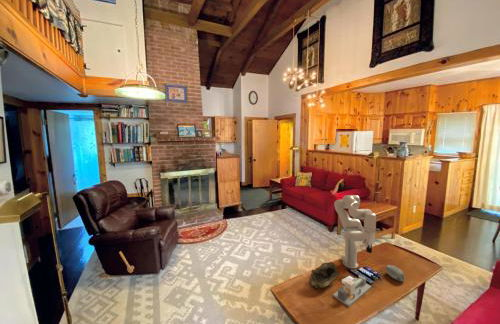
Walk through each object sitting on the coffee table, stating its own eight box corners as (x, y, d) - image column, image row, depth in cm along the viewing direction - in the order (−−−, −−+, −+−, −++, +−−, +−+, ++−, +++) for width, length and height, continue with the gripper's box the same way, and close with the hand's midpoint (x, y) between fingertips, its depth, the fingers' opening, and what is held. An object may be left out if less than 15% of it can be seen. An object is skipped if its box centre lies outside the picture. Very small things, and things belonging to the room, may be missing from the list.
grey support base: (333, 296, 146) (333, 286, 145) (355, 279, 162) (355, 270, 161) (349, 307, 136) (349, 297, 135) (371, 288, 152) (371, 278, 151)
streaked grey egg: (410, 278, 156) (403, 267, 157) (401, 286, 155) (394, 274, 155) (395, 271, 170) (389, 261, 170) (387, 278, 168) (380, 267, 169)
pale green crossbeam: (341, 294, 143) (341, 291, 142) (360, 279, 157) (360, 277, 157) (344, 296, 141) (344, 293, 140) (363, 281, 155) (363, 278, 155)
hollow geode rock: (334, 281, 167) (325, 262, 176) (345, 277, 158) (334, 258, 167) (309, 293, 155) (300, 272, 163) (318, 290, 146) (308, 268, 154)
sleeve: (344, 291, 147) (344, 281, 146) (348, 288, 150) (348, 278, 149) (351, 295, 143) (351, 285, 142) (354, 292, 146) (355, 282, 145)
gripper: (369, 224, 157) (368, 246, 160) (359, 229, 149) (358, 253, 151) (380, 228, 151) (379, 251, 153) (369, 233, 143) (369, 257, 145)
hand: (369, 252), depth 152 cm, fingers closed
